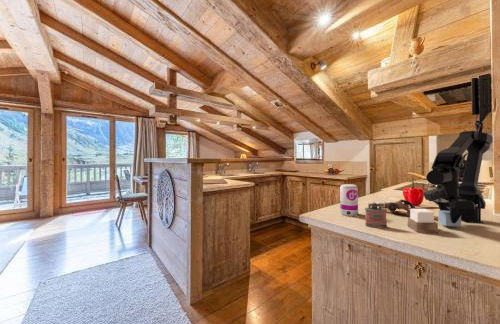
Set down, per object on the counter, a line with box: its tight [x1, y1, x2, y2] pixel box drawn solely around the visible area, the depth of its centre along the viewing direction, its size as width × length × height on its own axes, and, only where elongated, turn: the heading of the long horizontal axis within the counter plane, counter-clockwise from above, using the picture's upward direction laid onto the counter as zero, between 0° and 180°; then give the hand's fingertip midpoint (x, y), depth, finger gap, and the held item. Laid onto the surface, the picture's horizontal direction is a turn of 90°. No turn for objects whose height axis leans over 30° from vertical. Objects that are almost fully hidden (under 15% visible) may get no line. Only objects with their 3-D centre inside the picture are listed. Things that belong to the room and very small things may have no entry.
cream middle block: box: [409, 208, 435, 223], centre depth 87 cm, size 6×6×4 cm
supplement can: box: [339, 183, 359, 217], centre depth 112 cm, size 8×8×15 cm
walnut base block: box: [407, 217, 439, 234], centre depth 87 cm, size 7×7×4 cm
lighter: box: [364, 201, 388, 229], centre depth 93 cm, size 8×3×10 cm, turn 70°
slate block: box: [437, 209, 462, 227], centre depth 89 cm, size 5×5×5 cm
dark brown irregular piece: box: [386, 199, 416, 218], centre depth 109 cm, size 12×10×8 cm
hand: (449, 221), depth 89 cm, fingers closed on slate block, 5 cm apart
